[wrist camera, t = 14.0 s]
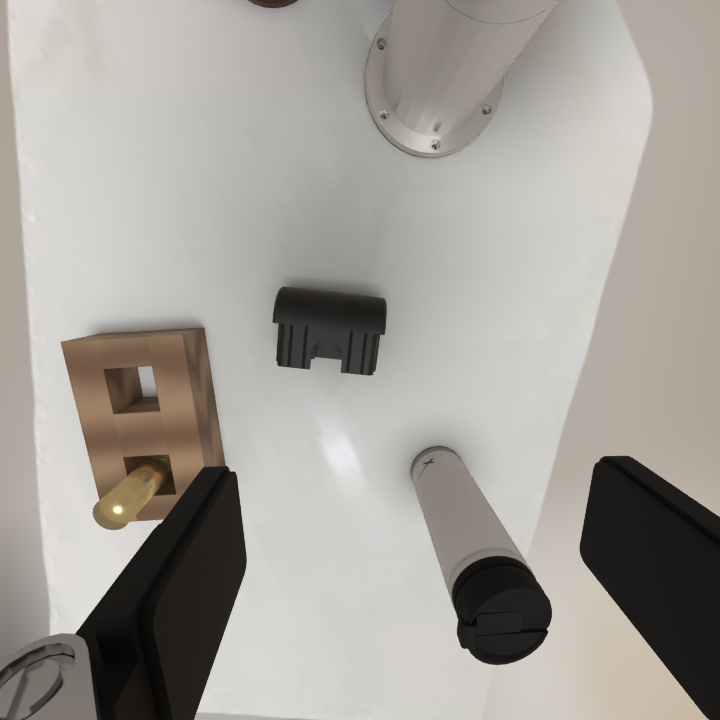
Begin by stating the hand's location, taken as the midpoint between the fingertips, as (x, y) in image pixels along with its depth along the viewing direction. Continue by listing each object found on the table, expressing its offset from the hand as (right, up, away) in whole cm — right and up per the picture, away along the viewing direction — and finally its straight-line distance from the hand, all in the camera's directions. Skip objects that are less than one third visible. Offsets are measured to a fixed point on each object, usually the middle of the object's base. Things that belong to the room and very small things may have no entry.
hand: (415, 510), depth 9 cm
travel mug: (+8, -9, +33) cm, 35 cm away
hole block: (-23, -2, +30) cm, 38 cm away
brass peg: (-23, -7, +31) cm, 39 cm away
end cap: (-4, +8, +29) cm, 30 cm away
